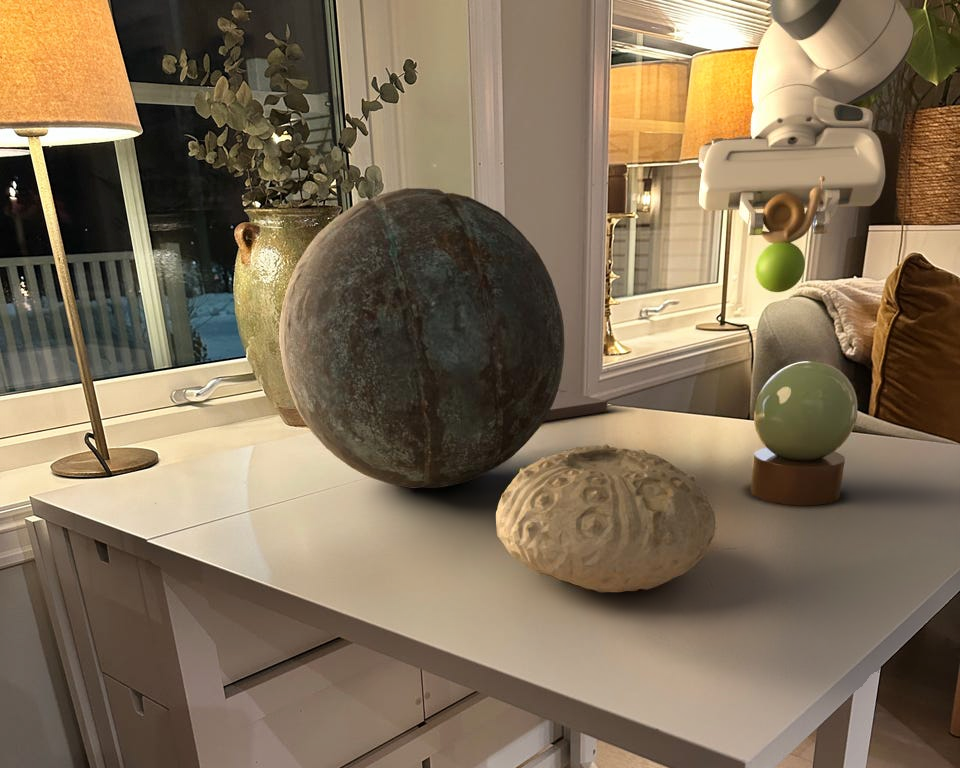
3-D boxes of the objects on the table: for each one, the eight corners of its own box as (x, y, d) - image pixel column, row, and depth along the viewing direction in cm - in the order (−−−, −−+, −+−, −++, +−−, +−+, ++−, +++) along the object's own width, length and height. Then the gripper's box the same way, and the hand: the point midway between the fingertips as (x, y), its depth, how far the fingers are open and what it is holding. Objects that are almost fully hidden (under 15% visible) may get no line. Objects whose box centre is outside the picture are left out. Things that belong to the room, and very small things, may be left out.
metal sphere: (508, 442, 121) (505, 188, 108) (607, 504, 95) (620, 180, 82) (279, 465, 112) (248, 193, 99) (321, 540, 86) (285, 186, 74)
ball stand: (783, 475, 103) (799, 351, 98) (863, 494, 96) (885, 361, 90) (726, 491, 98) (738, 361, 92) (806, 513, 91) (825, 373, 85)
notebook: (485, 430, 127) (606, 411, 137) (484, 419, 126) (607, 400, 136) (441, 415, 137) (557, 398, 146) (440, 404, 136) (557, 388, 146)
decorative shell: (750, 570, 77) (764, 452, 73) (629, 639, 66) (636, 504, 61) (582, 527, 88) (584, 423, 84) (452, 579, 77) (447, 461, 72)
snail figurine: (812, 294, 103) (827, 175, 98) (753, 294, 105) (765, 177, 100) (809, 290, 108) (823, 176, 103) (752, 290, 110) (764, 178, 105)
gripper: (700, 117, 107) (696, 211, 102) (887, 109, 103) (890, 206, 98) (697, 162, 112) (692, 252, 108) (873, 155, 109) (876, 248, 104)
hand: (788, 230), depth 103 cm, fingers closed on snail figurine, 6 cm apart
